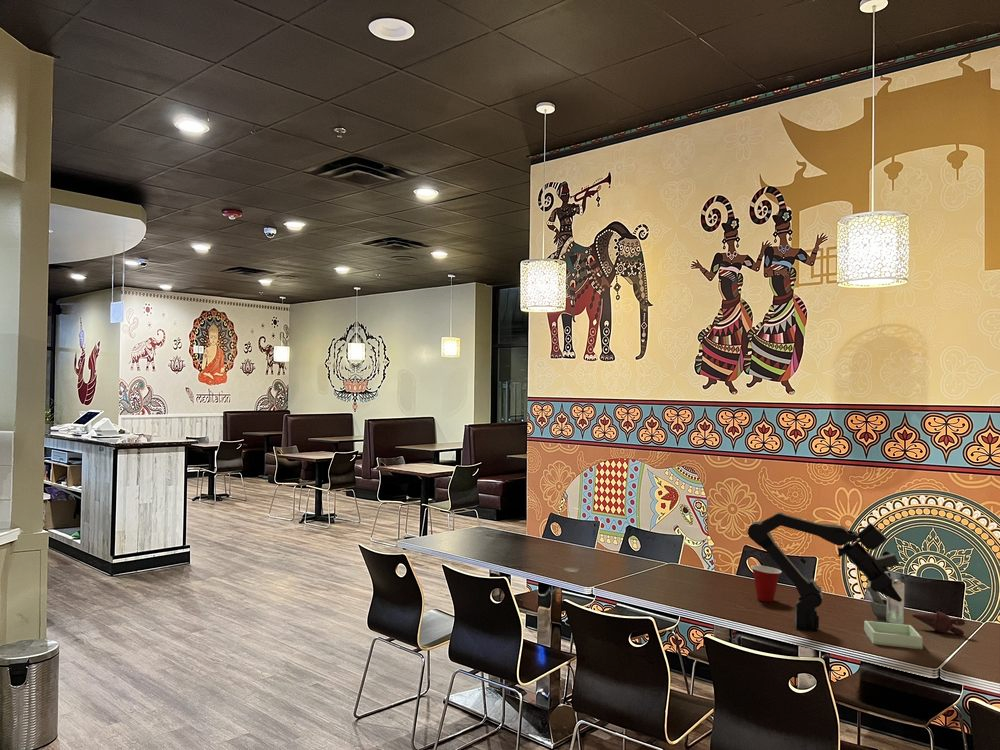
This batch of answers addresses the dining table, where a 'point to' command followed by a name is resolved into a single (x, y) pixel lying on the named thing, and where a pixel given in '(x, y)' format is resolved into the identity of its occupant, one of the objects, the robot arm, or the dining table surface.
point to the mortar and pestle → (878, 606)
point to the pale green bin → (893, 634)
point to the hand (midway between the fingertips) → (900, 599)
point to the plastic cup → (765, 582)
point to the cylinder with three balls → (896, 604)
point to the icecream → (941, 622)
